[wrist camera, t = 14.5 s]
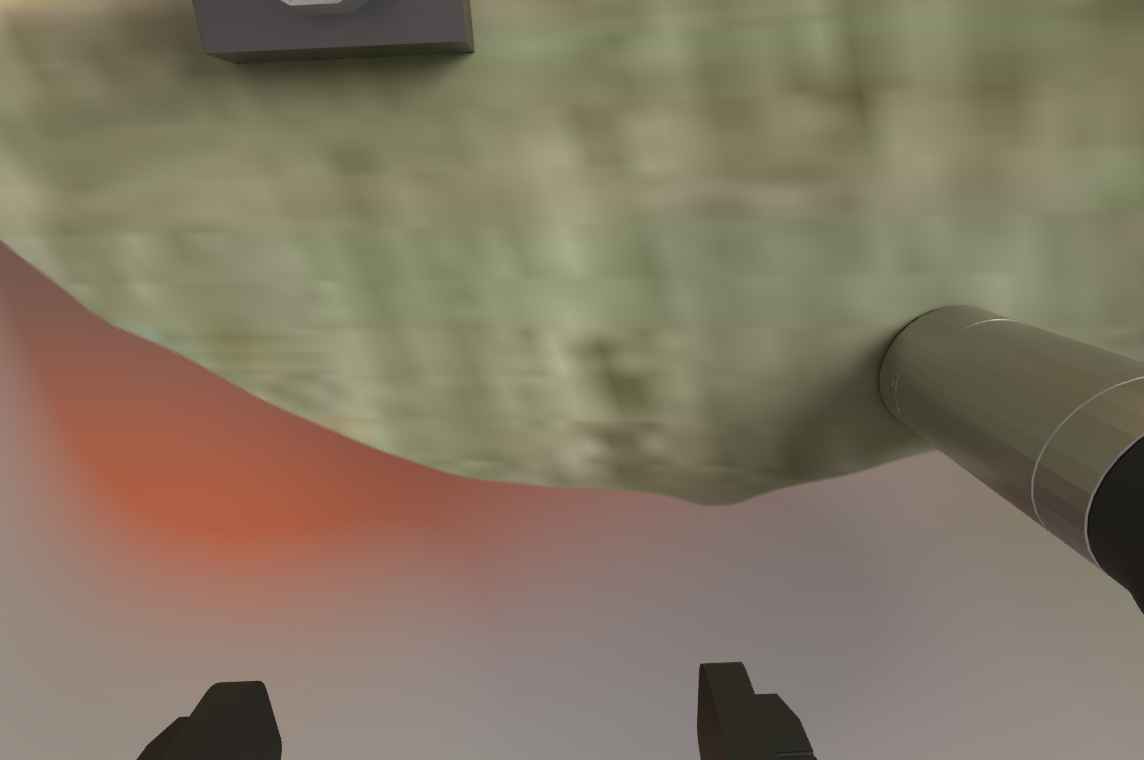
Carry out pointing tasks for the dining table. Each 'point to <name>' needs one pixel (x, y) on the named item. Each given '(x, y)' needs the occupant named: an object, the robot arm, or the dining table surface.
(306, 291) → the dining table surface
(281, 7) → the grey ring holder base
